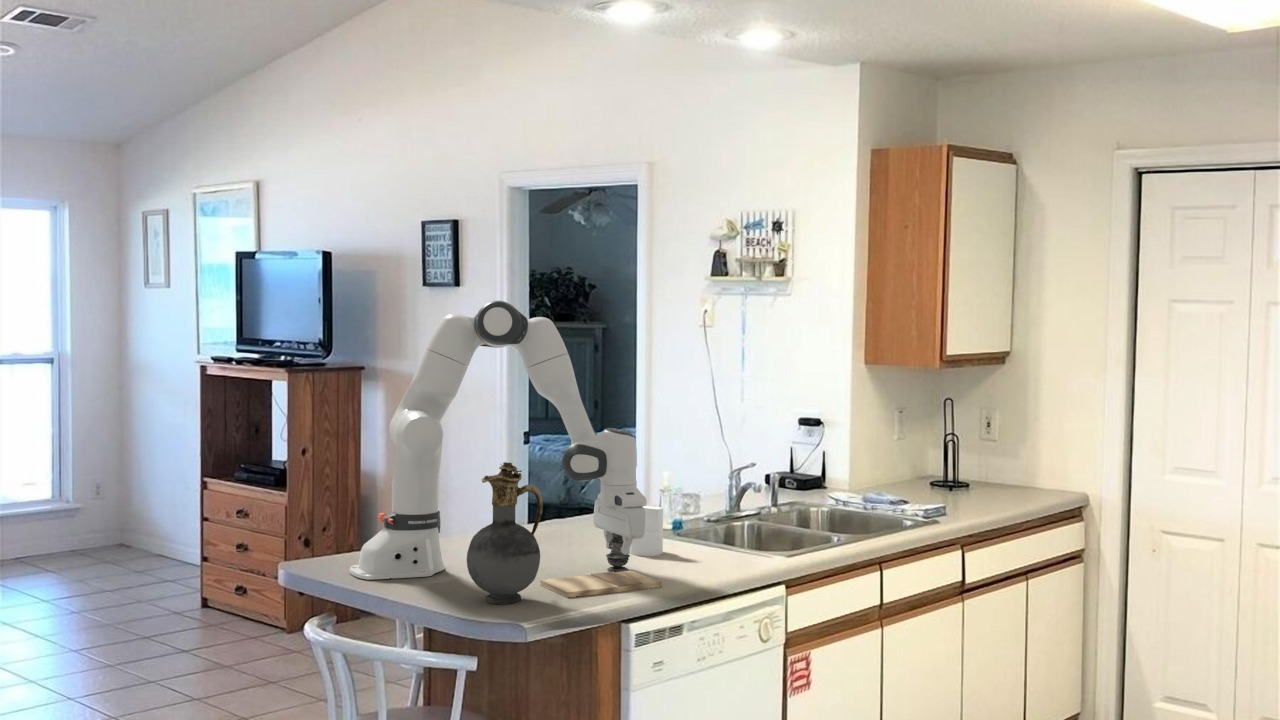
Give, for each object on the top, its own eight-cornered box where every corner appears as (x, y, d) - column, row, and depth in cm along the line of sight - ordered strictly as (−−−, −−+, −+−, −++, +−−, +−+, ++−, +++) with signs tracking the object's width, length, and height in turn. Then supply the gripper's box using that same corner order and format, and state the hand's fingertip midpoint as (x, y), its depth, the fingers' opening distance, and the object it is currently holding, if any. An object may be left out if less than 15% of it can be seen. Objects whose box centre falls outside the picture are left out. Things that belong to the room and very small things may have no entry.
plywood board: (567, 597, 273) (567, 591, 273) (540, 585, 285) (540, 579, 285) (661, 587, 285) (661, 580, 285) (631, 575, 297) (631, 569, 297)
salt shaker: (632, 568, 305) (633, 520, 305) (625, 573, 300) (626, 523, 299) (609, 566, 307) (610, 518, 307) (602, 571, 301) (603, 522, 301)
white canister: (668, 551, 328) (668, 506, 327) (654, 557, 320) (654, 511, 319) (637, 548, 332) (637, 503, 331) (622, 554, 323) (623, 508, 323)
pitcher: (459, 602, 268) (460, 464, 267) (524, 588, 282) (525, 456, 281) (492, 610, 261) (493, 468, 259) (558, 596, 275) (559, 461, 274)
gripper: (587, 490, 310) (586, 545, 311) (627, 501, 292) (626, 559, 293) (609, 488, 313) (609, 543, 314) (650, 499, 295) (649, 557, 296)
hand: (617, 551), depth 303 cm, fingers open, 6 cm apart
